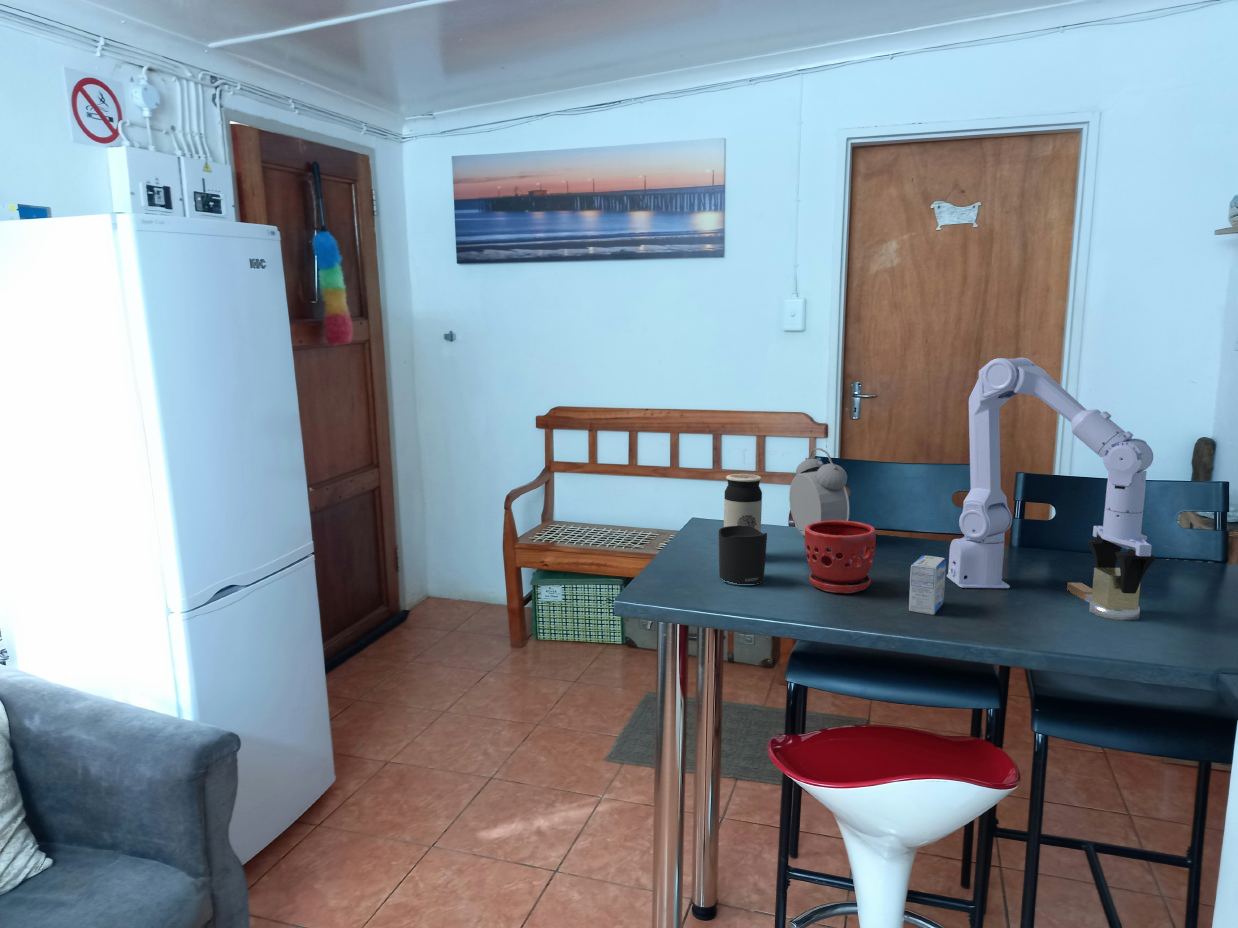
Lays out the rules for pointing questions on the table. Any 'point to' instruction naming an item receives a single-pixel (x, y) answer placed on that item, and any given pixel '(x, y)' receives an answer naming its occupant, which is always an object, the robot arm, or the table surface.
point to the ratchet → (1096, 609)
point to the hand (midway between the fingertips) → (1116, 586)
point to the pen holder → (742, 554)
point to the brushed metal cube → (1112, 590)
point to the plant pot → (840, 555)
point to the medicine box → (927, 584)
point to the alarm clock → (818, 493)
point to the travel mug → (743, 501)
